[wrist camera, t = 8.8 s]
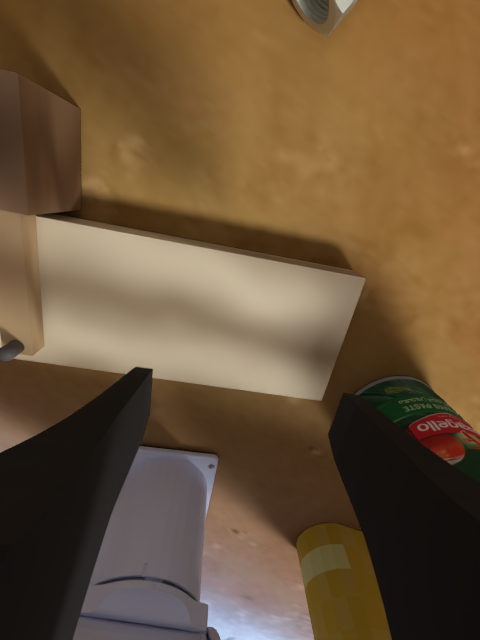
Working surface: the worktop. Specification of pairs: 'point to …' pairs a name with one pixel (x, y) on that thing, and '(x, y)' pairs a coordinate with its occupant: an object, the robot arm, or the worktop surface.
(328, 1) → the valve
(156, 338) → the board
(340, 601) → the book
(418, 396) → the canned tomato
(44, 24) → the worktop surface
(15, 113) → the mallet
